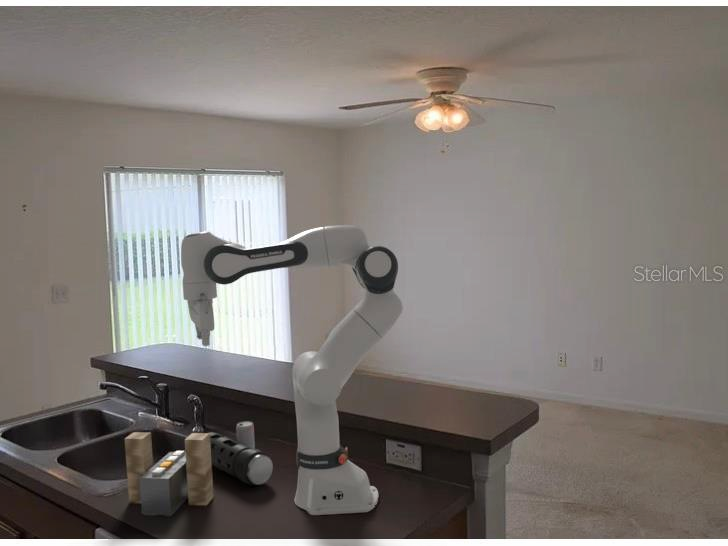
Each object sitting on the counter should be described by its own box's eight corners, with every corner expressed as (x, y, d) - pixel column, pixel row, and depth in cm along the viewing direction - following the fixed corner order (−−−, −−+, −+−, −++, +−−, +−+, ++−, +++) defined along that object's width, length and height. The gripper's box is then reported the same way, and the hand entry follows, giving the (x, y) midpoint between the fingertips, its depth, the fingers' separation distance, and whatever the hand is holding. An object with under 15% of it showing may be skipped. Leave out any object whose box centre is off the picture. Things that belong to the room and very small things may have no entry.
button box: (198, 486, 183) (196, 449, 182) (171, 516, 166) (168, 474, 165) (172, 485, 185) (169, 448, 184) (142, 515, 167) (139, 474, 166)
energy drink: (241, 457, 204) (239, 420, 203) (257, 458, 203) (255, 421, 202) (235, 464, 199) (233, 426, 198) (252, 464, 198) (250, 426, 197)
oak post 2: (213, 497, 176) (209, 433, 174) (206, 505, 171) (202, 439, 169) (196, 496, 177) (192, 433, 175) (188, 504, 172) (184, 439, 170)
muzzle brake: (223, 459, 204) (221, 427, 203) (276, 484, 183) (274, 449, 182) (196, 468, 197) (194, 435, 196) (247, 495, 177) (245, 458, 176)
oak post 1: (155, 495, 178) (150, 432, 177) (146, 503, 174) (142, 438, 172) (138, 494, 179) (133, 432, 177) (129, 503, 174) (124, 438, 173)
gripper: (218, 295, 165) (221, 348, 167) (206, 286, 184) (209, 334, 186) (193, 297, 163) (196, 351, 164) (183, 288, 182) (186, 336, 183)
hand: (203, 342), depth 175 cm, fingers open, 8 cm apart
